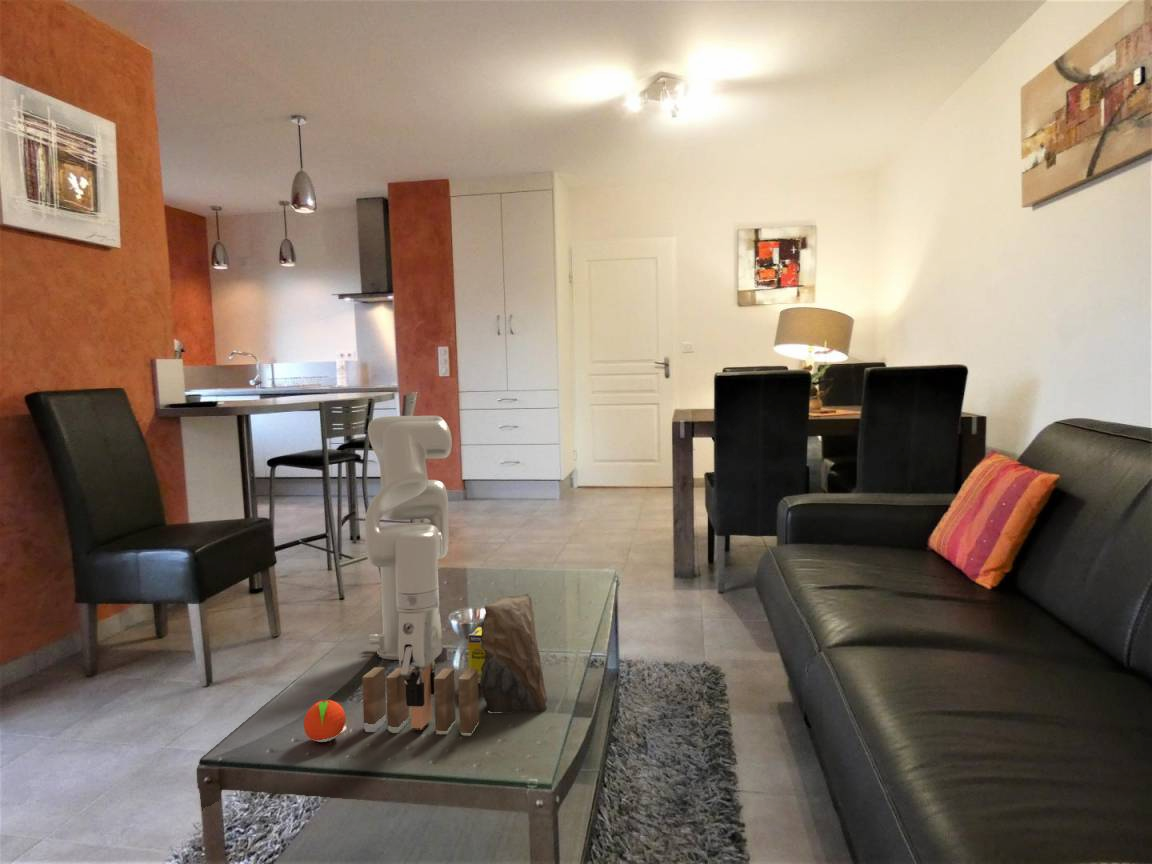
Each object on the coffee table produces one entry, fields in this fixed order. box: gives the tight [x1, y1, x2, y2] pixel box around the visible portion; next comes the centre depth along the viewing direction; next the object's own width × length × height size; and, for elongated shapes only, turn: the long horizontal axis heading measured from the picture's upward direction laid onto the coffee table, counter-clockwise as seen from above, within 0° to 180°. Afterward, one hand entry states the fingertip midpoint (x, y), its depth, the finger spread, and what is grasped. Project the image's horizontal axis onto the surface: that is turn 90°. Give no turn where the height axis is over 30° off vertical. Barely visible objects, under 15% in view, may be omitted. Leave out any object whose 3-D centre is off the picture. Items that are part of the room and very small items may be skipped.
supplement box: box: [467, 626, 485, 688], centre depth 142 cm, size 6×6×11 cm
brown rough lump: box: [480, 593, 548, 713], centre depth 132 cm, size 13×13×20 cm
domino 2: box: [385, 667, 410, 727], centre depth 121 cm, size 2×5×10 cm, turn 172°
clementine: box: [303, 699, 347, 740], centre depth 116 cm, size 8×7×7 cm
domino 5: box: [457, 668, 480, 733], centre depth 119 cm, size 2×5×10 cm, turn 172°
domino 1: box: [361, 666, 387, 724], centre depth 122 cm, size 2×5×10 cm, turn 172°
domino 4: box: [433, 668, 457, 731], centre depth 120 cm, size 2×5×10 cm, turn 172°
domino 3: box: [410, 664, 433, 730], centre depth 121 cm, size 2×5×10 cm, turn 172°
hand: (421, 698), depth 121 cm, fingers closed on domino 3, 4 cm apart
